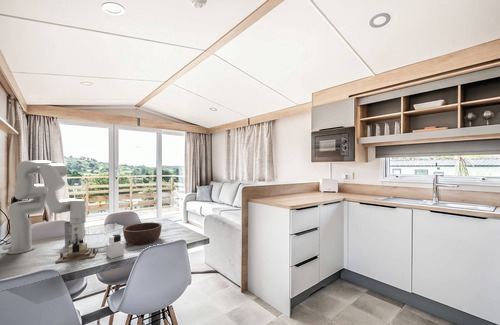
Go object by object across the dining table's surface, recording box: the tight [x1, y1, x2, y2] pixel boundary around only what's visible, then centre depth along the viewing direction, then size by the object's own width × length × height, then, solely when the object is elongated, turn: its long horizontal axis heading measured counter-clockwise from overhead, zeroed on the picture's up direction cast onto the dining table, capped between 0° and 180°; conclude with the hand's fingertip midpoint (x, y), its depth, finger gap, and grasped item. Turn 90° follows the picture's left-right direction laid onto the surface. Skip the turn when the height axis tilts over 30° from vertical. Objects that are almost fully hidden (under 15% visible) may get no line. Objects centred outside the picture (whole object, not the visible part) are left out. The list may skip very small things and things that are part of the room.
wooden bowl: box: [122, 221, 162, 246], centre depth 167 cm, size 25×25×10 cm
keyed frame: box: [54, 247, 99, 264], centre depth 139 cm, size 18×13×4 cm
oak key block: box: [68, 242, 88, 256], centre depth 139 cm, size 4×8×6 cm, turn 114°
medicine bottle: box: [105, 234, 125, 259], centre depth 140 cm, size 7×7×12 cm
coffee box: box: [64, 220, 73, 247], centre depth 162 cm, size 9×6×16 cm
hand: (78, 249), depth 139 cm, fingers open, 9 cm apart
